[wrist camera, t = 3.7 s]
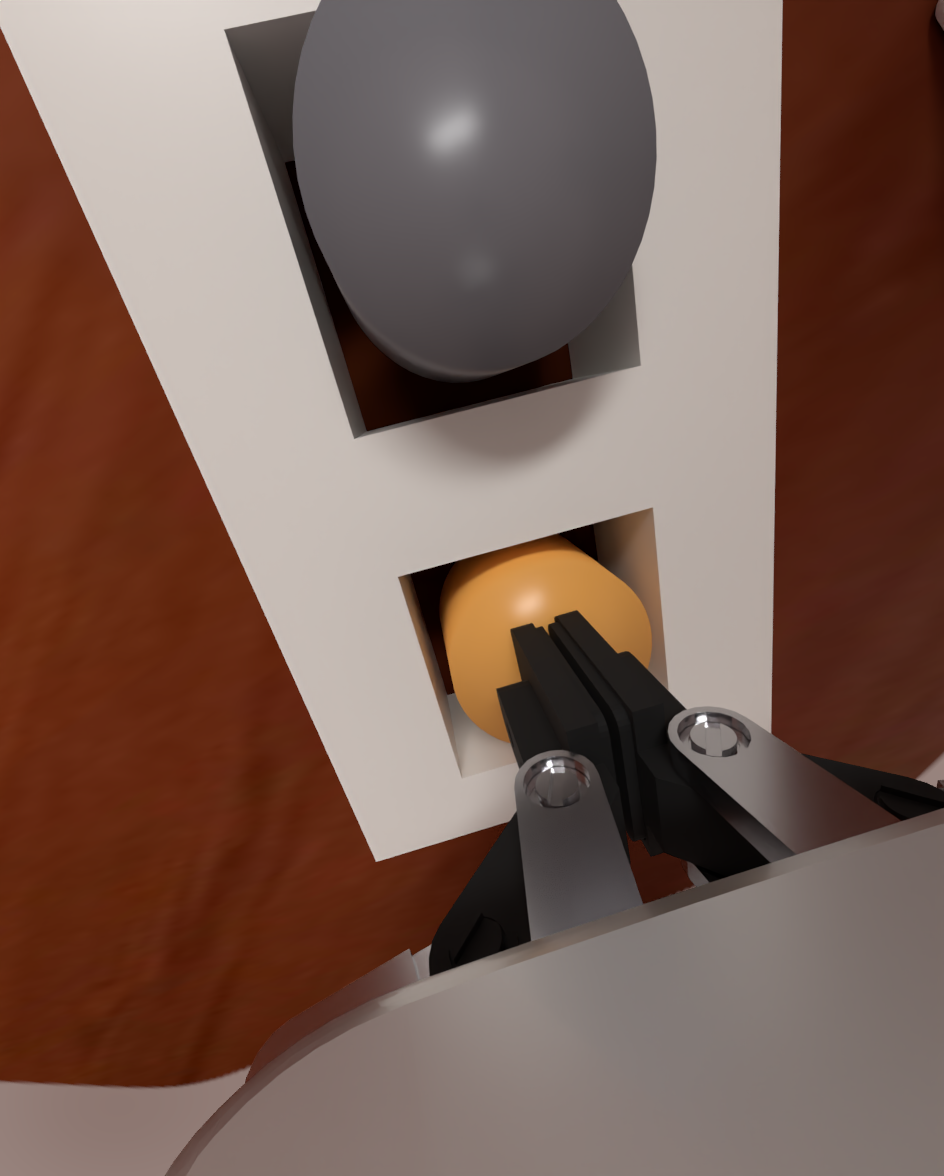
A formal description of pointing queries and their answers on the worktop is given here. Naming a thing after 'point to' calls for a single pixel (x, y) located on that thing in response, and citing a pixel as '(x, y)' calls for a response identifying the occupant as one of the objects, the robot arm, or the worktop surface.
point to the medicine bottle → (940, 13)
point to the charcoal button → (474, 171)
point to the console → (455, 437)
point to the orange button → (527, 615)
